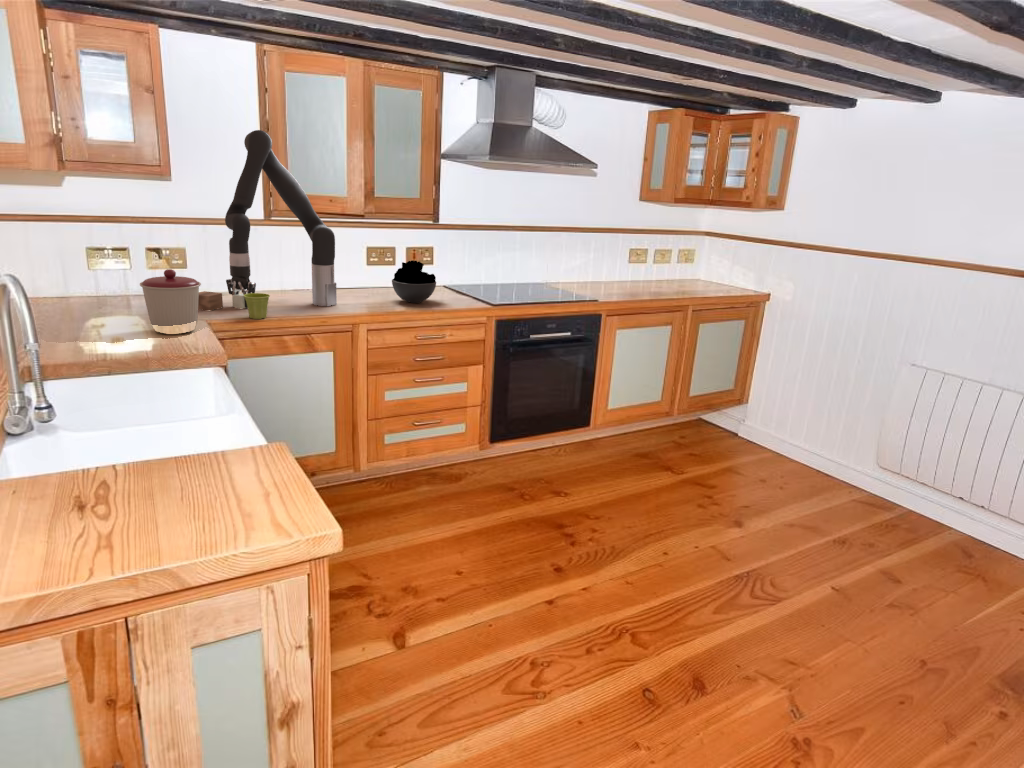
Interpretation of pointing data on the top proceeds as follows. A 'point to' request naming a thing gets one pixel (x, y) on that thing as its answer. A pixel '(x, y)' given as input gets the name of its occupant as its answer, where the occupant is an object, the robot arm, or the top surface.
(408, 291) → the bowl of black rocks
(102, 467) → the top surface
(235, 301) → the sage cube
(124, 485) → the top surface
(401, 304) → the top surface
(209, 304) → the walnut block
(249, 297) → the plant pot
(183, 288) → the canister
